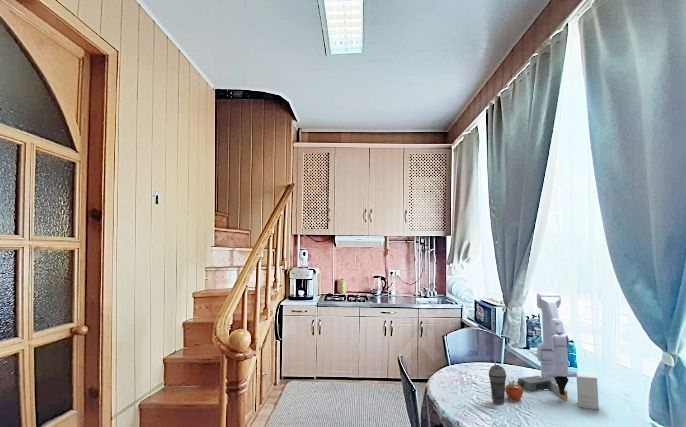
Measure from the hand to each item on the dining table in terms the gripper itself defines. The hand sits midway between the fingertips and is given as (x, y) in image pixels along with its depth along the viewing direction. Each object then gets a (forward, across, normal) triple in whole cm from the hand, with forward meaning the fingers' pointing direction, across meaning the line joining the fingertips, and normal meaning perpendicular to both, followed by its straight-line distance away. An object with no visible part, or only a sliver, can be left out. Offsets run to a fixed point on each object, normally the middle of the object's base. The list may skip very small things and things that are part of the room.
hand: (561, 394), depth 195 cm
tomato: (+2, -20, +1) cm, 20 cm away
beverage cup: (+2, -29, -3) cm, 29 cm away
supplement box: (+2, +7, -8) cm, 11 cm away
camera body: (+2, -5, +15) cm, 16 cm away
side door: (+2, +1, +6) cm, 6 cm away
